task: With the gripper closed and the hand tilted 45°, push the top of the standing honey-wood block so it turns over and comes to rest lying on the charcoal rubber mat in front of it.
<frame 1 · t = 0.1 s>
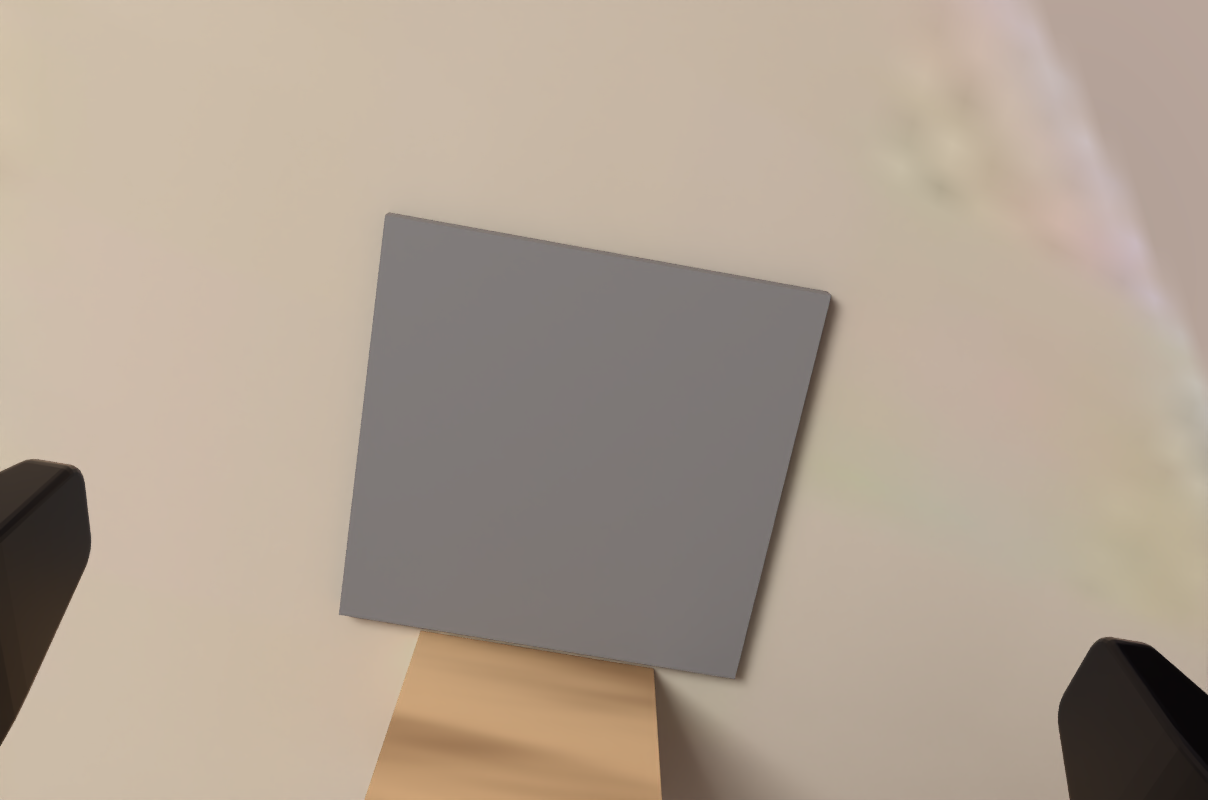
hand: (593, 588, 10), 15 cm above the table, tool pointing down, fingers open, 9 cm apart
wooden block: (524, 723, 28), on the table
mat: (572, 457, 26), on the table
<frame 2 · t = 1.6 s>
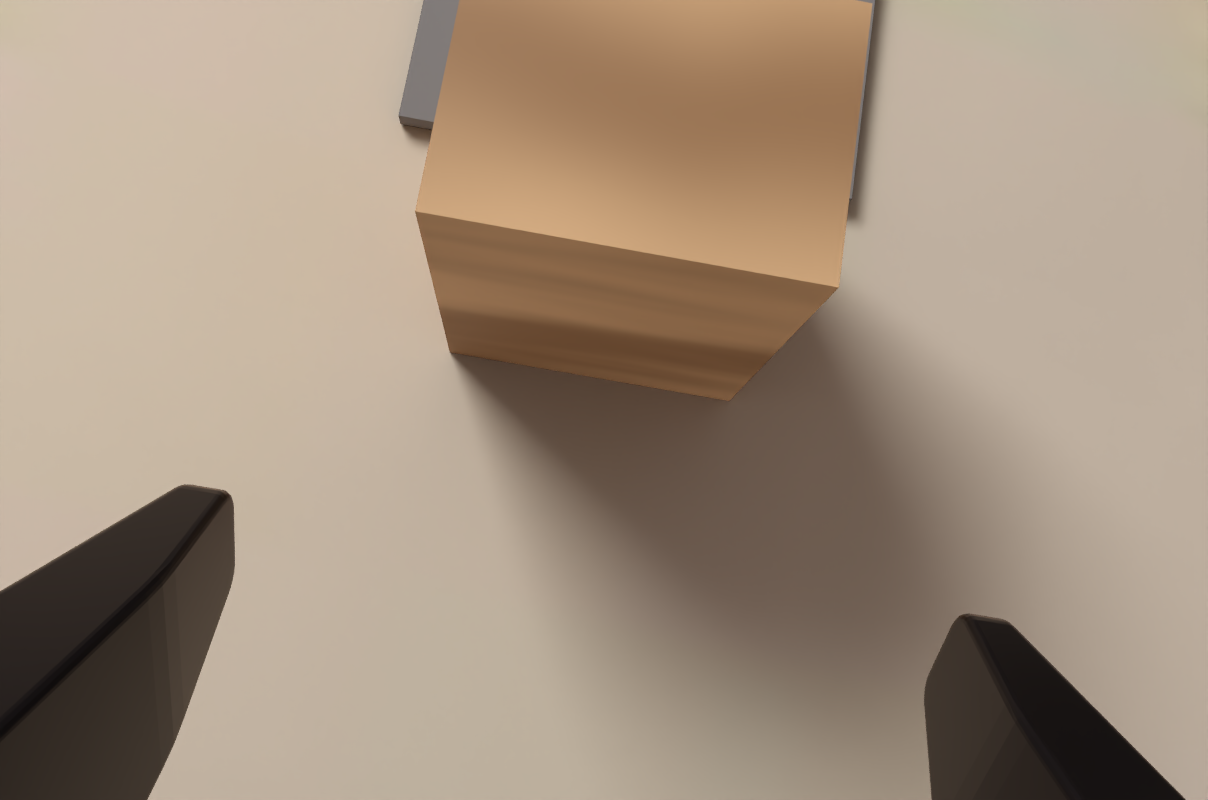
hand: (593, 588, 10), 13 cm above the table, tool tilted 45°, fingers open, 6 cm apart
wooden block: (607, 277, 23), on the table
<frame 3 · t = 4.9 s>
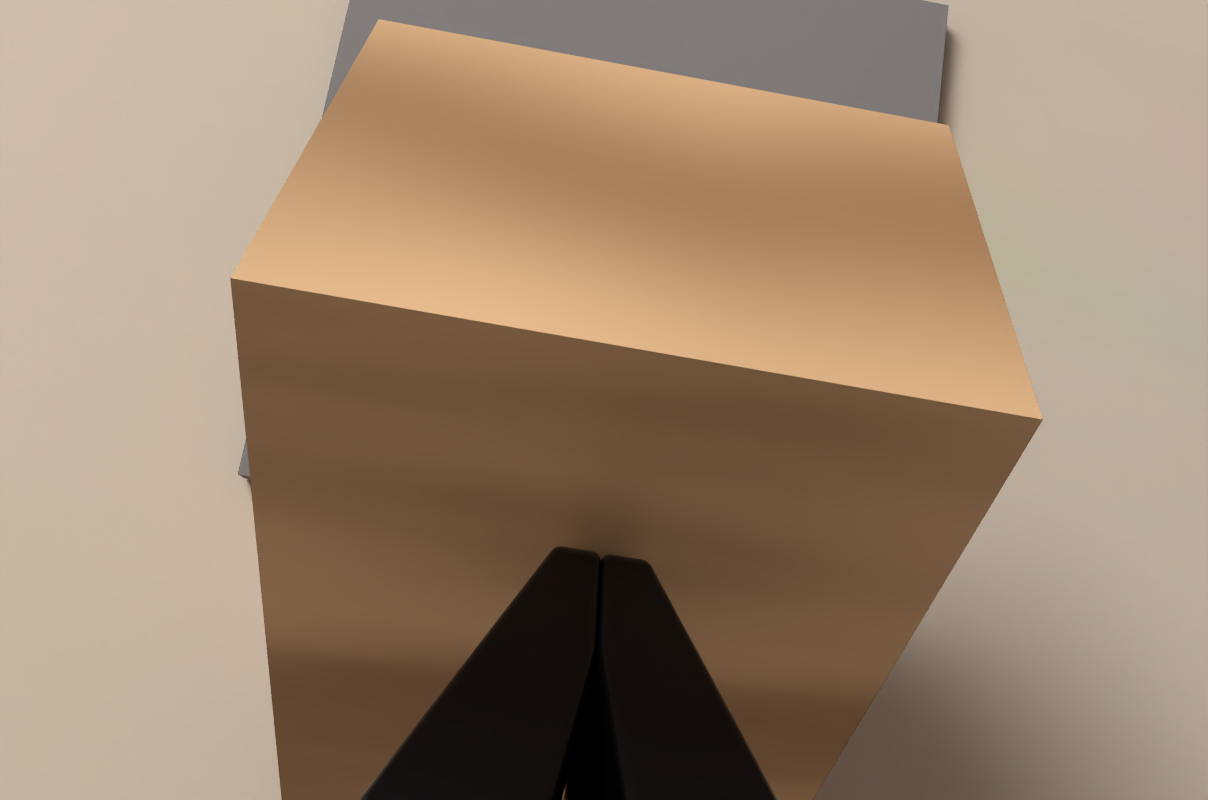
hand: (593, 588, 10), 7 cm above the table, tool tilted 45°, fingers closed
wooden block: (548, 682, 15), point 1 cm above the table, tilted 34°
mat: (618, 230, 18), on the table
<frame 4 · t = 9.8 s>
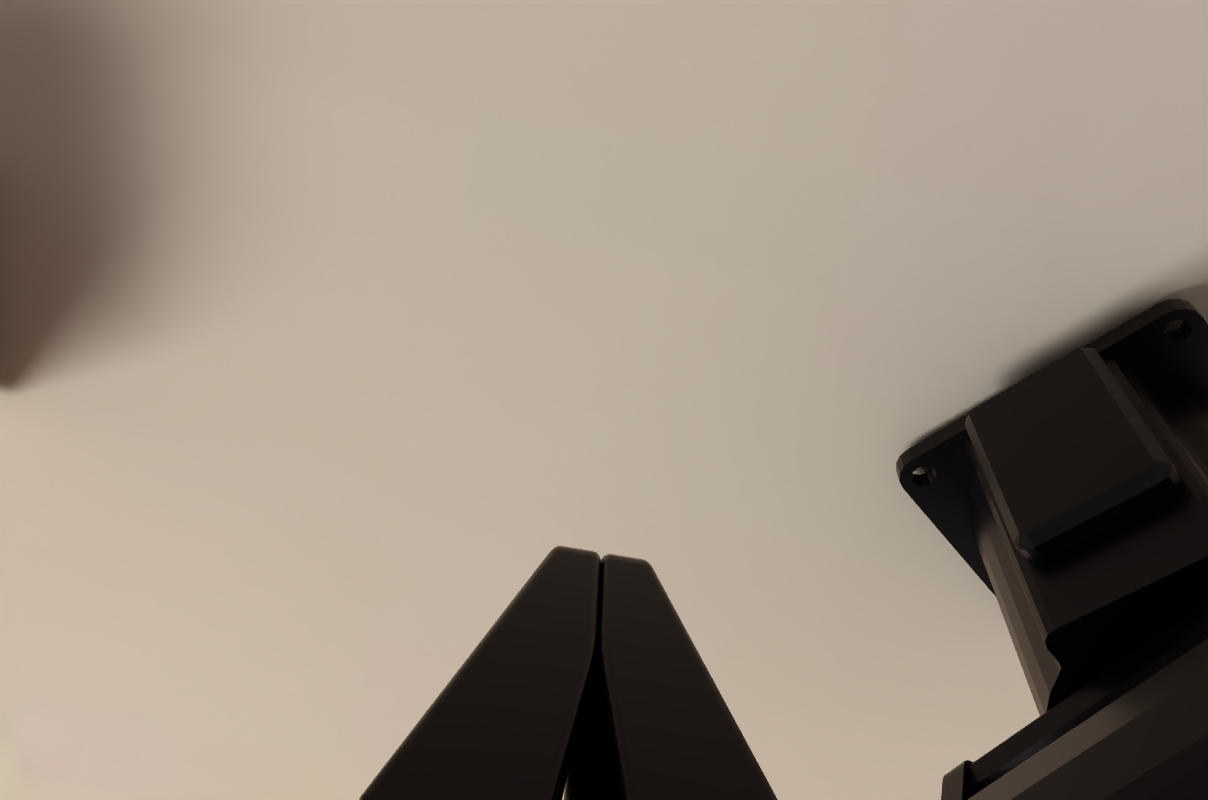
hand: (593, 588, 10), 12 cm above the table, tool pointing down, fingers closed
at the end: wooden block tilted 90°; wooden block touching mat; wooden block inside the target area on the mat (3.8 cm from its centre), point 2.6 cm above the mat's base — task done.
